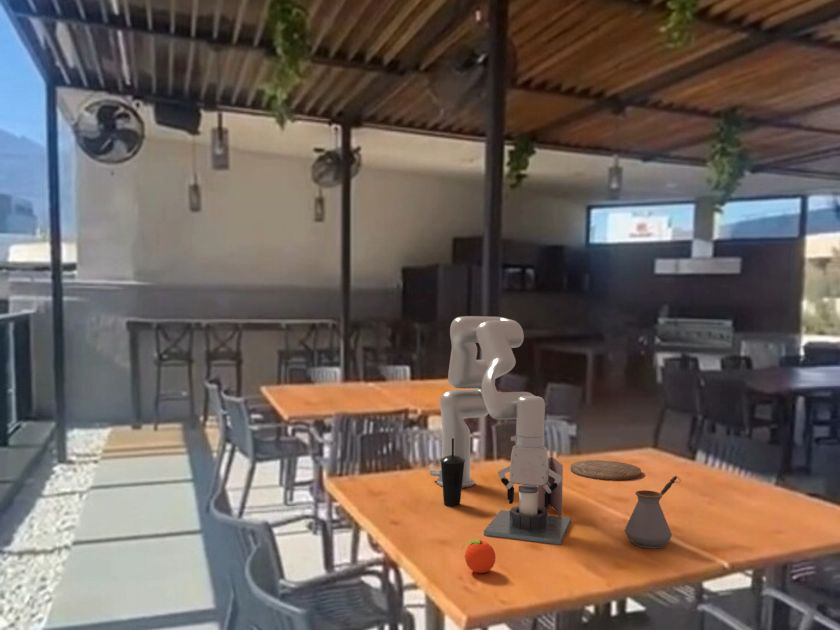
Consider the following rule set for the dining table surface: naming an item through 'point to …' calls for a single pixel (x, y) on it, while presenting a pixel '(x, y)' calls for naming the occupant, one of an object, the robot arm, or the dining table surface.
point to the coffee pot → (649, 520)
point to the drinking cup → (452, 478)
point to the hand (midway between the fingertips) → (529, 504)
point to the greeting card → (557, 492)
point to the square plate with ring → (529, 526)
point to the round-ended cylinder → (528, 500)
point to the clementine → (480, 556)
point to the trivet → (605, 470)
